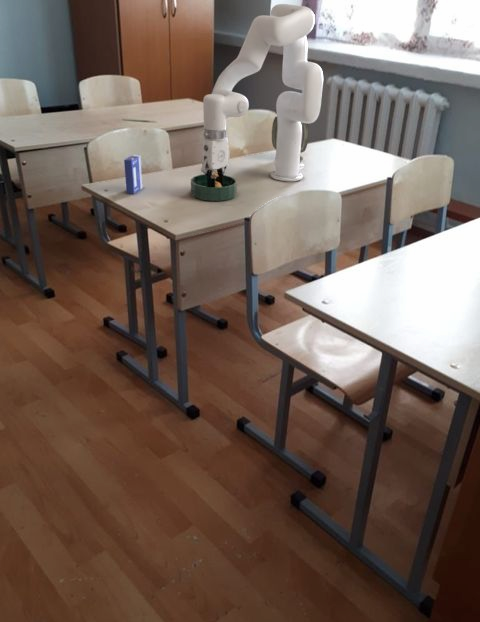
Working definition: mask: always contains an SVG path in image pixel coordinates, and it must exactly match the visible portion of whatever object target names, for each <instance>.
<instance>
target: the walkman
mask: <svg viewBox="0 0 480 622" xmlns="http://www.w3.org/2000/svg"><path fill="white" fill-rule="evenodd" d="M123 163H124V177H125V188H126V191H125V192H126V194H129V195H135V194H136V193H138V192H139V191H141V190H142V189H143V174H142V173H143V172H142V157H141V154H131V155H130V156H128V157H126V158H125V159H124V160H123Z"/></svg>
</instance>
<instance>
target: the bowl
mask: <svg viewBox="0 0 480 622" xmlns="http://www.w3.org/2000/svg"><path fill="white" fill-rule="evenodd" d="M223 175H224V185H223V186H222V187H207V177H206V175H205V174H204V173H202V174H198V175H195V176H193V177H191V178H190V194H191V196H193V197H194V198H196V199H199V200H203V201H210V202H221V201H228V200H231V199H234V198H236V196H238V182H237V179H236V178H234V177H233V176H230V175H226V174H223ZM214 177H215V176H214ZM215 181H216V179H215Z"/></svg>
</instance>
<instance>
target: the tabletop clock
mask: <svg viewBox="0 0 480 622" xmlns="http://www.w3.org/2000/svg"><path fill="white" fill-rule="evenodd" d="M300 123H301V127H302V139H301V151H300V161H303V160H304V157H303V156H301V154H302V153H304V152H305V151H306V150H307V147H308V142H309V133H310V131H309V124H308V123H303V122H300ZM277 128H278V121H277V115H276V116H274V118H273V121H272V127H271V143H272V147H273V148H274V150H276V145H277ZM275 160H276V157H275Z"/></svg>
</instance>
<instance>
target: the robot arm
mask: <svg viewBox="0 0 480 622" xmlns="http://www.w3.org/2000/svg"><path fill="white" fill-rule="evenodd" d="M269 14H270V15H266V14H265V15H263V14H262V15H258V16H256V17H255V18H254V19H253V20H252V22H251V24H250V26H249V29H248V32H247V34H246V36H245V39H244V42H243V44H242V45H241V48H240V51H239V53H238V55H237V57H236V58H235V59H234V60H232V62H230V64H229V65H227V66H226V67H225V68H224V70H222V72H221V73H220V74H219V76H218V78H217V80H216V82H215V84H214V86H213V88H212V91H211V93H209V94H206V95H204V97H203V109H202V110H203V112H202V113H203V139H202V147H201V148H202V150H201V165H202V167H201V168H200V172H202V174H205V175H206V177H207V187H215V178H214V171H213V170H215V171H216V173H217V174H218V177H217V178H216V182H219V183H220V184H221V185H222V186H223V185H224V175H226V170H227V167H228V166H229V165H230V143H229V139H228V136H227V118H241V117H243V116H244V115H246V113H248V111H249V107H250V103H249V99H248V98H247V97H246V96H245V95H244V94H242V93H240V92H239V93H238V92H235V91H233V89H234V87H235V86H236V85H237V84H238V83H239V82H240V81H241V80H242V79H244V78H246V77H249V76H251V75H254V74H256V73H257V72H260V70H261V69H262V67H263V65H264V62H265V60H266V57H267V55H268V52H269V51H270V49H271V46H273V47H283V52H282V53H283V54H282V55H283V56H282V69H281V70H282V71H281V79H282V82H283V85H285V86H286V87H289V88H292V89H295V90H299V91H301V92H298V91H293V90H287V91H283V92H281V93H280V94H279V95H278V97H277V99H276V103H275V111H276V116H277V121H278V128H277V145H276V149H275V158H276V159H275V163H274V170H273V171H271V172H270V177H271V178H272V179H273V180H277V181H280V182H299V181H301V180H302V179H303V174H302V173H301V172H300V171H301V170H303V169H304V168H305V164H304V163H300V162H301V160H300V155H301V153H300V151H301V139H302V127H301V123H300V122H303V123H308V125H310V124H314V123H315V122H316V121H317V120H318V118H319V116H320V113H321V109H322V108H321V107H322V98H323V97H322V96H323V87H324V73H323V69H322V68H321V66H320V65H319V64H318V63H315V62H312V61H308V40H307V36H308V35H309V34H310V33H311V32H312V31H313V29H314V26H315V21H316V18H315V14H314V11H313V10H312V8H309V7H308V6H305V5H304V6H303V5H296V4H287V3H279V4H275V5H274V6H272V8H271V10H270V13H269ZM207 166H209V168H207ZM209 170H211V173H210V171H209Z"/></svg>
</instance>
